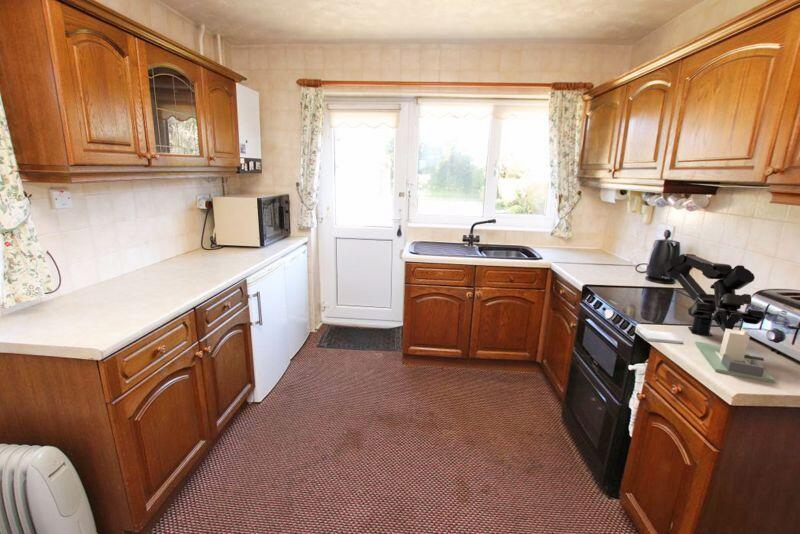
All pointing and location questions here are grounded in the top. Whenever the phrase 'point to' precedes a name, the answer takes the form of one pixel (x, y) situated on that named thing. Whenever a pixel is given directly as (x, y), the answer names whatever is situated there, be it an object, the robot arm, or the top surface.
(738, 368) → the header
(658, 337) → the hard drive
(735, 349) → the plug
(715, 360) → the board
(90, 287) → the top surface
